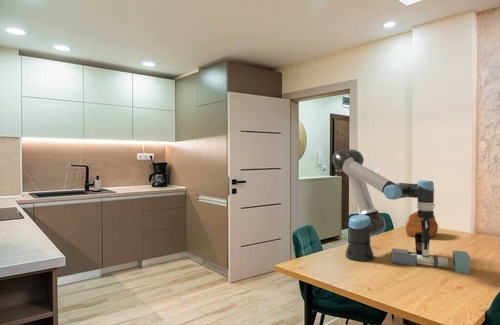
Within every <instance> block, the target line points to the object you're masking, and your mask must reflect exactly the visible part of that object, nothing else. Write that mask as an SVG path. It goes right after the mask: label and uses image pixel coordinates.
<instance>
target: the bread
mask: <svg viewBox="0 0 500 325" xmlns="http://www.w3.org/2000/svg"><path fill="white" fill-rule="evenodd" d="M421 220H423V218H420V217H418V216H417V211H416V212H412V214H410V215H409V216H408V221H407V222H406V225H405V232H406V235H407V236H409V237H412V238H415V234H416V233H418V232H422V227H421ZM428 221H430V230H429V235H430V236H431V237H430V238H432V237H433V236H436V235H437V233H438V231H439V230H438V228H439V225H438V223H437V221H436V216H435V215H434V218H431V219H430V218H429V219H428Z"/></svg>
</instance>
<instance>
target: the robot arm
mask: <svg viewBox="0 0 500 325" xmlns="http://www.w3.org/2000/svg"><path fill="white" fill-rule="evenodd" d="M331 158H332V159H331V160H332V164H333V166H334V167H335V168H337V169H338V170H340V171H341V172H343V173H344V174H346V175H347V176H348V179H349V182H350V186H351V189H352V191H353V194H354V198H355V200H356V204H357V207H358V209H359V213H358V214H355V215H351V216H350V217H349V219H348V244H347V247H346V250H345V258H347V259H348V260H352V261H355V262H370V261H373V260H374V258H375V257H374V256H375V255H374V252H373V249H372V246H371V237H374V236H378V235H379V234H382V233H383V232H384V231H385V229H386V226H387V225H386V224H387V223H386V220H385V218H384V217H383V216H382V215H381V214H379V210H378V209H376V208H375V207H374V204H373V201H372V197H371V195H370V192H369V187H368V185H369V186H371V187H372V188H374V189H375V190H378V191H380V192H381V193H382V194H383V195H384V196H385V198H386V199H388V200H394V201H395V200H400V199H405V198H413V199H417V202H416V203H417V204H416V205H417V211H416V212H417V216H418V217H420V218H423V220H421V227H422V238H423V242H421V243H423V255H424V256H430V255H429V254H430V241H429V230H430V221H428V219H429V218H430V219H431V218H434V216H435V212H434V209H435V207H436V204H435V198H434V197H435V186H434V185H435V184H434V181H432V180H425V179H424V180H421V179H420V180H417V183H409V182H408V183H407V182H397V183H395V182H394V181H391V180H390V179H388V178H386V177H385V176H383V175H380V174H379V173H378V172H375V171H374V170H372V169H370V168H368V167H367V166H364V165H363V164H364V159H365V158H364V155H363V153H362V152H360V151H359V150H357V149H351V148H350V149H339V150H337V151H335V152H334V153H333V154H332V157H331ZM367 184H368V185H367Z"/></svg>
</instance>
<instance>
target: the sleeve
mask: <svg viewBox="0 0 500 325" xmlns="http://www.w3.org/2000/svg"><path fill="white" fill-rule="evenodd" d="M411 254H415V255H411ZM391 264H393V265H400V266H401V265H402V266H408V267H409V266H410V267H418V263H417V255H416V251H409V250H408V249H402V248H391Z"/></svg>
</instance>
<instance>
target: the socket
mask: <svg viewBox="0 0 500 325" xmlns="http://www.w3.org/2000/svg"><path fill="white" fill-rule="evenodd" d="M452 269H453V271H454V273H457V274H458V273H460V274H465V275H466V274H468V275H470V274H471V256H470V255H469V253H468V252H467V251H463V250H452Z"/></svg>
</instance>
